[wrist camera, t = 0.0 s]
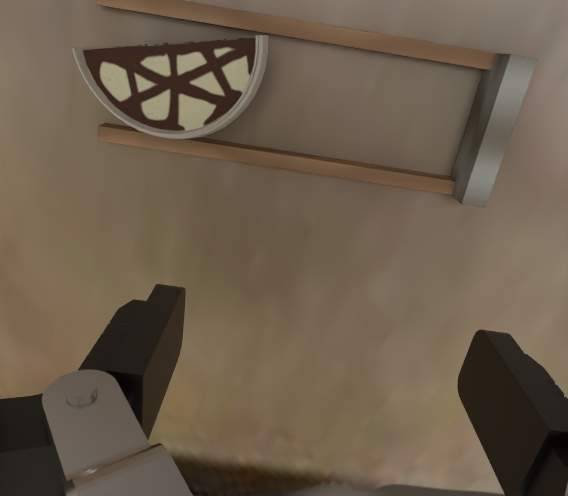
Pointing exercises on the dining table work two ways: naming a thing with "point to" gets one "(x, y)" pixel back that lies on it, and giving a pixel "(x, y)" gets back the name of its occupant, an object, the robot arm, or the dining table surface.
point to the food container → (176, 83)
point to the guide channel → (494, 82)
